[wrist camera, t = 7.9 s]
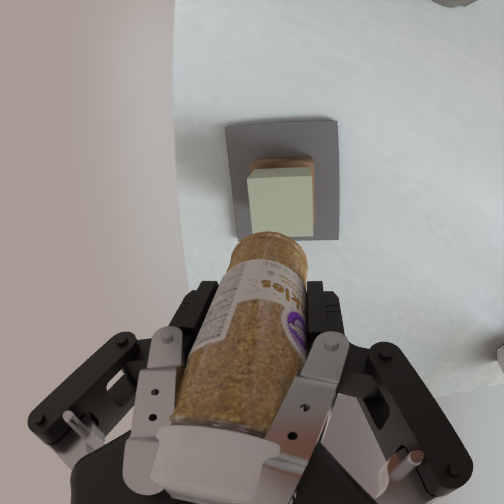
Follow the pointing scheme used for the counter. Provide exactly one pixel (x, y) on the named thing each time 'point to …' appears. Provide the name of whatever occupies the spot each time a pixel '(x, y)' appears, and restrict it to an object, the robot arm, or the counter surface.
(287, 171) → the sage top block
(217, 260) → the counter surface
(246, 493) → the sprinkles bottle
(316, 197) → the slate board
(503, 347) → the small box
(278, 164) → the walnut base block
